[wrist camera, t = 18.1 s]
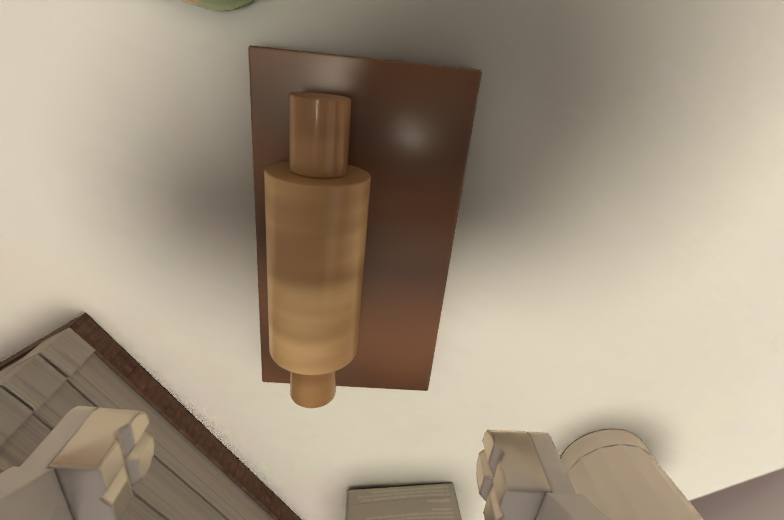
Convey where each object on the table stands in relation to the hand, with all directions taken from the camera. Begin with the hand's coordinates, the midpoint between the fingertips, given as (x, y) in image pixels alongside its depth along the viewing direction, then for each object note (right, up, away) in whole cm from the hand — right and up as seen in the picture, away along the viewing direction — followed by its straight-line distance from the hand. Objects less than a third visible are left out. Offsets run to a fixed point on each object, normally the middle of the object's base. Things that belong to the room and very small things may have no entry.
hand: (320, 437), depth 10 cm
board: (0, +5, +13) cm, 14 cm away
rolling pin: (-1, +5, +11) cm, 12 cm away
